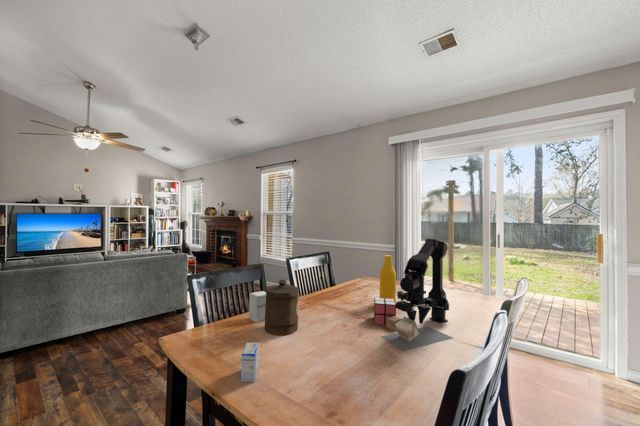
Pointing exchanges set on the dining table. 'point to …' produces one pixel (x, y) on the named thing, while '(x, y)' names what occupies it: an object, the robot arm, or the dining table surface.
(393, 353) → the dining table surface
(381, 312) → the puzzle cube
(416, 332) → the beech cube
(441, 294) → the robot arm
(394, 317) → the walnut cube
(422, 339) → the rubber mat
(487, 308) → the dining table surface
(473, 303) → the dining table surface
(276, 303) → the wooden container
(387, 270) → the beer bottle
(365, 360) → the dining table surface
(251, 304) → the supplement box
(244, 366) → the medicine box
